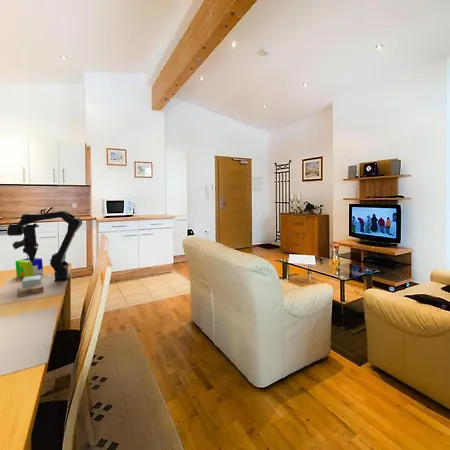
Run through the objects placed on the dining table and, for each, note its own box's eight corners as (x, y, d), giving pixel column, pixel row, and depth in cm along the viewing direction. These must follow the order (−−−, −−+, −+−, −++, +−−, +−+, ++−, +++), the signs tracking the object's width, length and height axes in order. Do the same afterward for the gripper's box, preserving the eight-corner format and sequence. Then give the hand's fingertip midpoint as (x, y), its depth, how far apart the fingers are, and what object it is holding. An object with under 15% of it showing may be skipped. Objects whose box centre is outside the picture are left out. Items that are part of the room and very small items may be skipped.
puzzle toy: (43, 273, 183) (42, 258, 182) (28, 278, 174) (26, 262, 173) (32, 272, 187) (30, 257, 185) (16, 276, 177) (15, 261, 176)
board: (42, 289, 153) (42, 284, 153) (43, 292, 150) (43, 286, 149) (17, 294, 146) (16, 289, 146) (18, 297, 143) (17, 291, 142)
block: (41, 283, 164) (41, 275, 164) (40, 287, 156) (39, 279, 156) (25, 285, 160) (24, 277, 160) (22, 290, 153) (22, 281, 152)
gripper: (15, 234, 168) (17, 259, 170) (10, 238, 152) (13, 266, 154) (37, 232, 174) (39, 257, 176) (35, 236, 158) (37, 264, 160)
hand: (32, 261), depth 166 cm, fingers open, 4 cm apart
